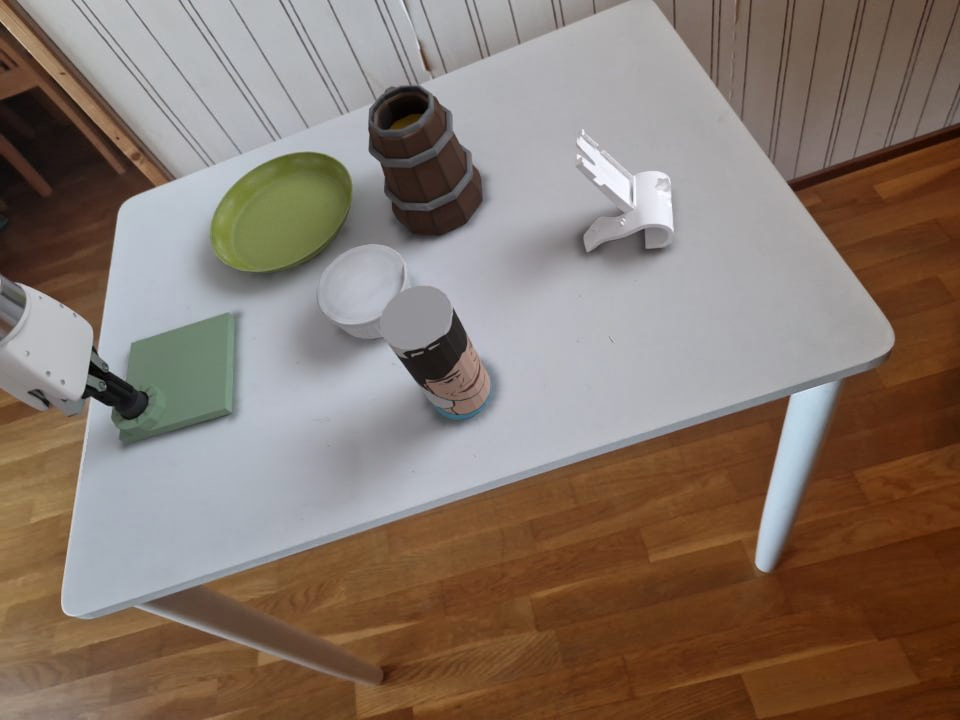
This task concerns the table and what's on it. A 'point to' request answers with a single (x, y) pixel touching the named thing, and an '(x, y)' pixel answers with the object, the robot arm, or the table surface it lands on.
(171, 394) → the scale
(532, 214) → the table surface
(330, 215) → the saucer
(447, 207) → the mug
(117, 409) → the button
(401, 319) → the cup
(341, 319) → the ramekin
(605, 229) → the plastic part
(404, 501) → the table surface
